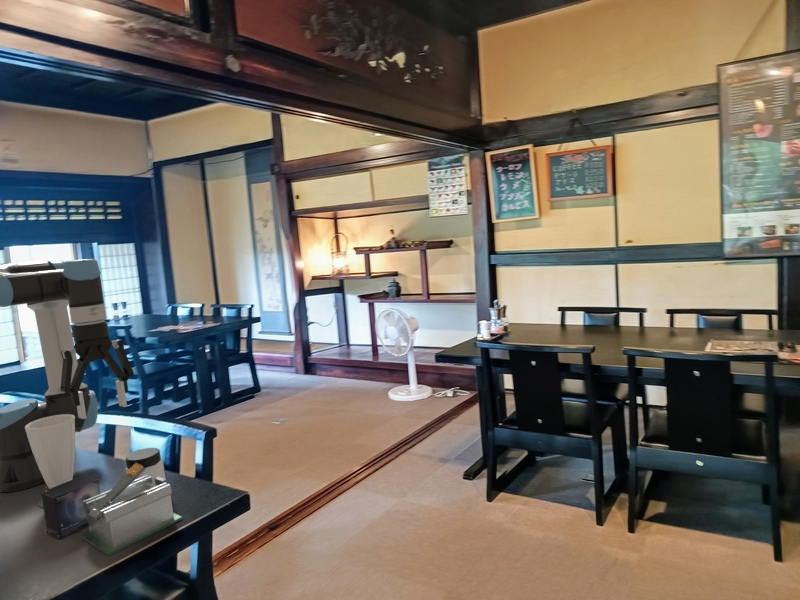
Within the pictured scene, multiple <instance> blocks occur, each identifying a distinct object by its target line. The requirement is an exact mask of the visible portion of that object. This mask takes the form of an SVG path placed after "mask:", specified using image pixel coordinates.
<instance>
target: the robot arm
mask: <svg viewBox="0 0 800 600" xmlns="http://www.w3.org/2000/svg"><path fill="white" fill-rule="evenodd" d="M99 267H100V266H99V262H98V261H97V260H96V259H95V258H88V259H87V258H85V259H75V260H73V259H72V260H65V261H63V260H61V259H45V260H33V261H22V262H10V263H9V262H8V263H1V264H0V308H6V307H10V306H19V305H26V306H27V308H29V309H30V310H32V311H33V312H34V316H35V321H36V326H37V331H38V336H39V341H40V347H41V352H42V353H41V354H42V358H43V363H44V368H45V373H46V377H47V378H46V379H47V384H48V389H47V390H46V391H45V393H44V394H43V395H44V396H43V397H44V401H39V400H38V399H36V398H28V399H27V398H26V399H22V400H17V401H15V402H11V403H9V404H7V405H4V406H2V407H0V491H1V492H0V493H10V492H9V491H12V492H18V491H23V490H26V489H30V488H33V487H35V486H38V485H41V484H44V483H46V482H45V480H44V478H43V476H42V474H41V472H40V470H39V467H38V465H37V462H36V460H35V457H34V455H33V452H32V449H31V446H30V443H29V440H28V437H27V433H26V430H25V426H26V425H27V424H29V423H31V422H33V421H35V420H38V419H42V418H45V417H50V416H55V415H62V414H71V415H74V416H75V419H74V421H75V433H81V432H82V431H85V430H87V429H92V427H94V426H95V425H96V423H97V420H98V411H99V409H98V408H99V406H98V399H97V396H96V393H95V391H94V390H91V389H89V385H88V384H86V383H84V382H83V380H84V377H85V373H86V371H87V368H88V366H89V365H90V362H94V361H96V360H103V361H104V363H106V364H107V366H108V367H109V369H110V370H111V371H112V373H113V374H114V375H115V376H116V378H117V380H115V387H116V393H117V394H116V395H117V400H118V401H117V402H118V406H119V407H122V408H123V407H124V408H125V407H128V403H127V397H126V393H128V392H129V388H128V380H129V379H130V377H133V376H134V375H135V372H134V369H133V367H132V365H131V363H130V362H131V361H130V360H129V357H128V356H127V353H126V350H125V343H124V341H125V340H122V339H115V340H111V338H110V331H109V324H108V322H107V321H105V320H106V319H107V313H106V307H105V301H104V300H105V299H104V291H103V285H102V279H101V271H100V268H99ZM68 309H69V310H68ZM68 311H69V312H68ZM71 324H74V325H72V326H71ZM111 347H112V348H113V349H114V351H115V354H116V356H117V358H118V362H119V363H120V366H121V367H120V366H119V365H118V363H117V362H116V361H115V359H114V358H113V355H112V354H111V353H110V349H111ZM77 355H78V356H79V358H78V357H77ZM77 358H78V359H77Z"/></svg>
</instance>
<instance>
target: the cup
mask: <svg viewBox="0 0 800 600" xmlns="http://www.w3.org/2000/svg"><path fill="white" fill-rule="evenodd" d="M74 419H75V416H74V415H71V414H62V415H55V416H50V417H45V418H42V419H38V420H35V421H33V422H31V423H29V424H27V425H26V426H25V430H26V433H27V437H28V440H29V443H30V446H31V449H32V452H33V455H34V457H35V460H36V462H37V465H38V467H39V470H40V472H41V474H42V476H43V478H44V480H45V482H44V483H45V484H46V485H47V488H48V489H50V488H53V487H55V486H58V485H60V484H63V483H65V482H68V481H70V480H73V479H74V472H75V471H74V469H75V460H76V459H75V457H76V432H75V421H74ZM37 505H38V507H39V508H42V509H44V507H43V500H42V498H41V499H40V500H39V501H38V503H37Z"/></svg>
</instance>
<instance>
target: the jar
mask: <svg viewBox="0 0 800 600" xmlns="http://www.w3.org/2000/svg"><path fill="white" fill-rule="evenodd" d="M125 462H126V468H124V469H125V470H124V471H125V476H126V475H127V473H126V472H127V471H128V470H129V469H130V468H131V467H132V466H133V465H134V464H135V463H138V464H140V465H142V466H143V467H144V468H145V470H144V471H143V472H142V473H141V474H140V475H139V476H138V477H137V478H136V479H138V478H141V477H143V476H145V475H148V476H151V477H152V483H153V486H152V487H156V485H155V478H156V477H158V476H159V477H161V478H164V479H166V474H165V467H164V459H163V458H162V457H161V450H160V449H159V448H157V447H146V448H141V449H138V450H135V451H133V452H130V453H128V454H127V455H126V457H125ZM136 479H135V480H136Z"/></svg>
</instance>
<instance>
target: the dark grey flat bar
mask: <svg viewBox="0 0 800 600" xmlns="http://www.w3.org/2000/svg"><path fill="white" fill-rule="evenodd" d="M144 470H145V468H144V467H143V466H142V465H140V464H138V463H135V464H134V465H133V466H132V467H131V468H130V469H129V470H128V471H127V472H126V471H125V475H124V477H122V478H121V479H120V481H118V483H116V484H115V486H113V488H111V489H112V490H111V489H109V490H110V491H109V490H108V491H109V492H108V493H107V494H106V495H105V496H104V497H103V498H102V499H101V500H100V501H99V502H98V503H97V504H96V505H95V506H94V507H92V506H90V507H88V508H87V509H86V514H87V515H88V516H89V517H91V518H92V519H94V520H95V519H96V520H99V519H101V515H100V510H102V509H105V508H107V507H108V506H109V505H110V504H111V503H112V502H113V501H114V500H115V499H116V498H117V497H118V496H119V495H120V494H121V493H122V492H123V491H124V490H125V489H126V488H127V487H128V486H129V485H130V484H131V483H132V482H133V481H134V480H135V479H136V478H137V477H138V476H139V475H140V474H141V473H142V472H143V471H144ZM126 473H127V475H126Z"/></svg>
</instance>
